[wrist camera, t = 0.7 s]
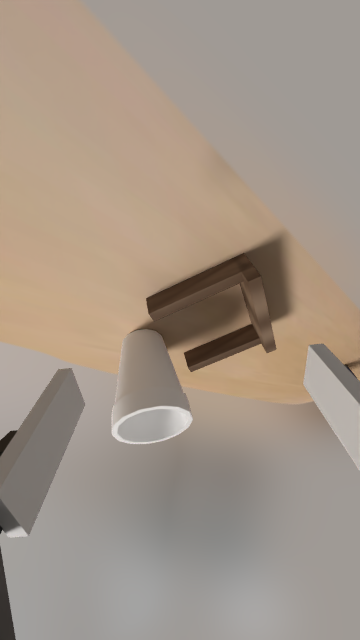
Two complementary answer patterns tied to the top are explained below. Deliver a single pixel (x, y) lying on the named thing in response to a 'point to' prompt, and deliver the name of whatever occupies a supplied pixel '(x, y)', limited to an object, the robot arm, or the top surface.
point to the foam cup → (148, 392)
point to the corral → (213, 284)
